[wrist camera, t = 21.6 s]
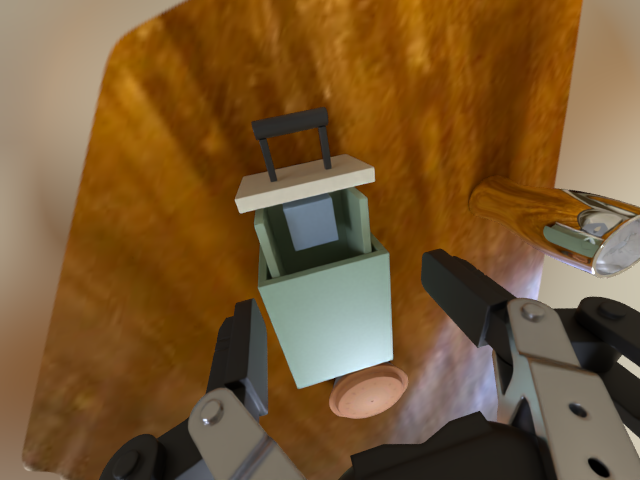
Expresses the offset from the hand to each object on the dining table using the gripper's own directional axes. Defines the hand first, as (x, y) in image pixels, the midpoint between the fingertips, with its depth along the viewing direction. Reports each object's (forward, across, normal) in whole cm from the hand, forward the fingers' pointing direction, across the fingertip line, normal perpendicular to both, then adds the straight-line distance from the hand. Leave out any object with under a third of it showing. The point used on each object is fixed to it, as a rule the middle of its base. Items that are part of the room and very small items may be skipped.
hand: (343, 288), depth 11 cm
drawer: (+18, 0, +3) cm, 18 cm away
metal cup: (+19, -26, +8) cm, 33 cm away
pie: (+18, -5, +40) cm, 45 cm away
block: (+17, 0, +3) cm, 17 cm away
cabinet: (+19, 0, +14) cm, 23 cm away
